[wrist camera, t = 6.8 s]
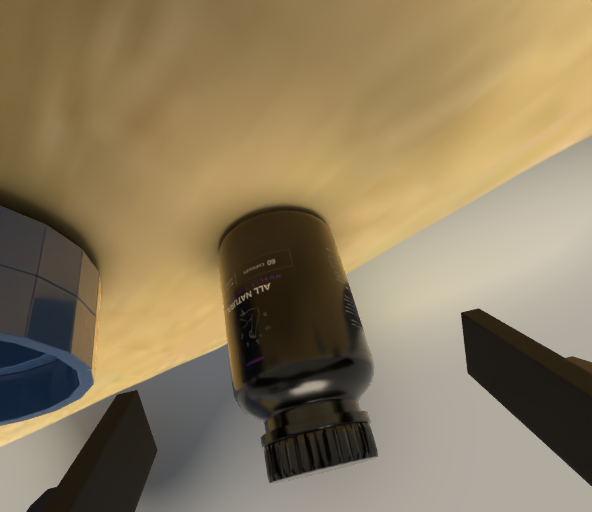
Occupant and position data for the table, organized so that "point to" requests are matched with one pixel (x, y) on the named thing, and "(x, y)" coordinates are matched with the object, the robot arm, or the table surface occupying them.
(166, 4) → the table surface
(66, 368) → the bowl
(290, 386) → the supplement bottle
